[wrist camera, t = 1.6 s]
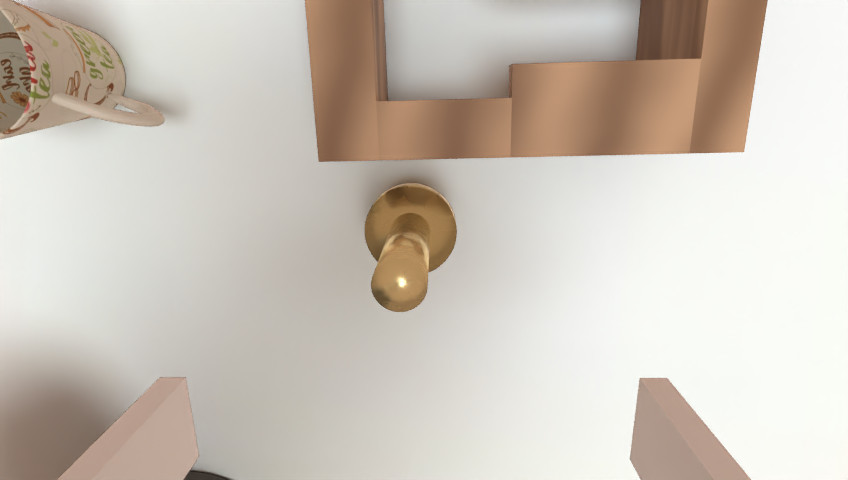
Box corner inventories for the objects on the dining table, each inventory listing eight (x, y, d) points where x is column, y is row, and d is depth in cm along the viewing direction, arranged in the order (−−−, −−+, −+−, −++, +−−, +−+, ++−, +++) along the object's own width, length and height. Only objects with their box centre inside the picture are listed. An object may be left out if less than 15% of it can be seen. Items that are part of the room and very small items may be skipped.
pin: (378, 247, 39) (339, 344, 23) (374, 173, 37) (329, 224, 22) (453, 246, 38) (464, 343, 23) (453, 171, 37) (463, 221, 21)
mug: (37, -7, 34) (-119, -49, 24) (209, 59, 35) (123, 44, 25) (22, 107, 36) (-127, 109, 27) (184, 167, 37) (96, 190, 28)
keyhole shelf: (347, 147, 36) (318, 161, 28) (332, -63, 33) (294, -122, 24) (669, 139, 36) (743, 152, 27) (694, -77, 32) (789, -144, 23)
